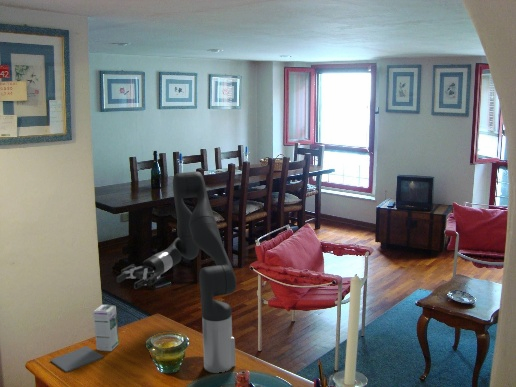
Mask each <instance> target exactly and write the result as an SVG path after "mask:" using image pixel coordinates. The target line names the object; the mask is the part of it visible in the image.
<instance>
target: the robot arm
mask: <svg viewBox="0 0 516 387" xmlns="http://www.w3.org/2000/svg"><path fill="white" fill-rule="evenodd" d="M172 190H173V197H174V204H175V205H174V207H175V212H176V213H175V214H176V219H177V221H176V224H177V227H176V229H177V230H176V235H177V237H176V238H175V239H174V241H173V242H172V243H171V244H170V245H169V246H168V247H167V248H166V249H164V250H161V251H160V252H157V253H155V254H153V255H152V256H150V257H148V258H147V259H145V260H144V261H142V263H141V265H140V266H136V265H135V264H134V263H132V264H130V265H128V266H126V267H124V268H123V269H121V270H120V271H121V274H119V275H118V276H116V277H115V278H116V280H115V281H116V283H118V284H120V283H122V282H123V281H125V280H127V279H131V280H132V279H139V280H137V281H135V282H134V283H133V288H134V289H135V290H137V289H140V288H141V287H143V286H147V285H148V286H149V287H151V286H153V285H154V284H156V283H157V282H159V281H160V280H161V275H162V274H164V273H166V272H167V271H168V270H170V269H171V268H172V267H174V266H176V265H177V264H179V263H180V262H181V260H182V257H183V258H184V259H186V260H190V261H192V260H194V259H195V258H197V256H198V255H199V252H200V250H202V251H203V252H204V253H205V254H206V255H208V256H209V257H210V258H211V259H212V260H213V261H214V263H215V264H216V265H211V266H205V267H202V268H201V269H200V270H199V276H198V278H199V279H198V280H199V282H198V283H199V290H200V303H201V304H200V306H201V318H202V320H201V321H202V322H201V323H202V347H203V349H202V351H203V368H204V371H207V372H209V373H212V374H220V373H219V372H222V373H226V372H228V371H230V370H232V368H233V367H236V339H235V337H234V336H233V324H232V323H233V321H232V319H233V318H232V307H231V305H230V304H229V303H227V302H224V301H221V300H216V299H214V297H218V296H224V295H230V294H233V293H235V292H236V288H237V277H236V273H235V271H234V268H233V265H232V263H231V260H230V259H229V257H228V253H227V252H226V249H225V247H224V244H223V240H222V237H221V233H220V230H219V227H218V223H217V220H216V217H215V215H214V213H213V209H212V206H211V203H210V200H209V196H208V191H207V187H206V182H205V178H204V176H203V174H202V173H201V172H200V171H189V172H179V173H178V172H177V173H176V174H174V175H173V179H172ZM189 198H191V199H192V198H197V199H198V200H197V202H196V206H195V207H194V209H193V211H191V210H190V209H189V208H188V206H186V204H185V202H184V199H189ZM225 371H226V372H225Z"/></svg>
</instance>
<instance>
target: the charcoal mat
mask: <svg viewBox="0 0 516 387" xmlns="http://www.w3.org/2000/svg"><path fill="white" fill-rule="evenodd" d="M100 359H104V356H103V355H102V354H101V353H99V352H97V351H96V350H94V349H92V348H91V347H89V346H87V345H86V346H83V347H80V348H77V349H75V350H72V351H70V352H67V353H64V354H62V355H59V356H57V357H54V358H52V359H50V362H51V363H53V364H54V365H55V366H57V367H58V368H60V369H61V370H62V371H64V372H65V373H70V372H71V371H74V370H76V369H78V368H82V367H83V366H86V365H89V364H91V363H93V362H96V361H98V360H100Z"/></svg>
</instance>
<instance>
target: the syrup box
mask: <svg viewBox="0 0 516 387" xmlns="http://www.w3.org/2000/svg"><path fill="white" fill-rule="evenodd" d="M92 314H93V324H94V325H93V326H94V333H95V344H96V350H97V351H103V352H113V350H114V349H115V348H116V347H117V346H118V345H119V344H120V339H119V337H120V336H119V327H118V326H119V325H118V316H117V315H118V314H117V307H116V304H115V305H113V304H100V306H98V307H96V309H95V310H93V311H92Z"/></svg>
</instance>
